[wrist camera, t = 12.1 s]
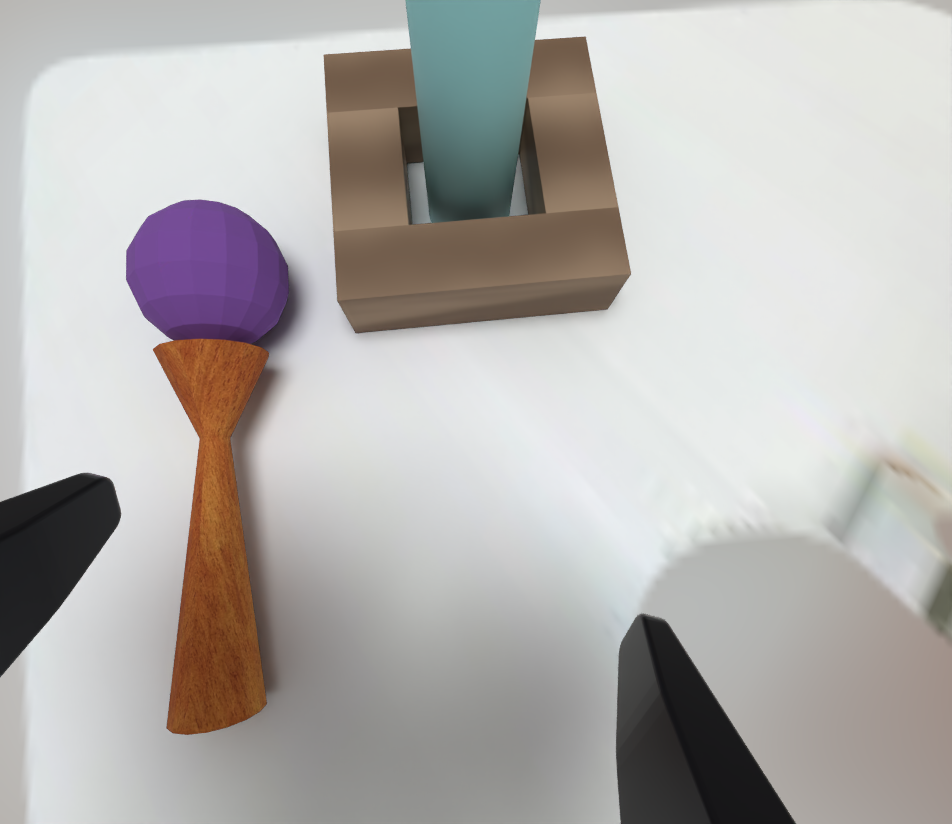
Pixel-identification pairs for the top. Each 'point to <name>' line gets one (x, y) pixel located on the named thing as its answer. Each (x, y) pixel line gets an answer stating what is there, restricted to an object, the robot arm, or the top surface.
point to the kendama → (211, 433)
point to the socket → (479, 240)
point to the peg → (471, 100)
